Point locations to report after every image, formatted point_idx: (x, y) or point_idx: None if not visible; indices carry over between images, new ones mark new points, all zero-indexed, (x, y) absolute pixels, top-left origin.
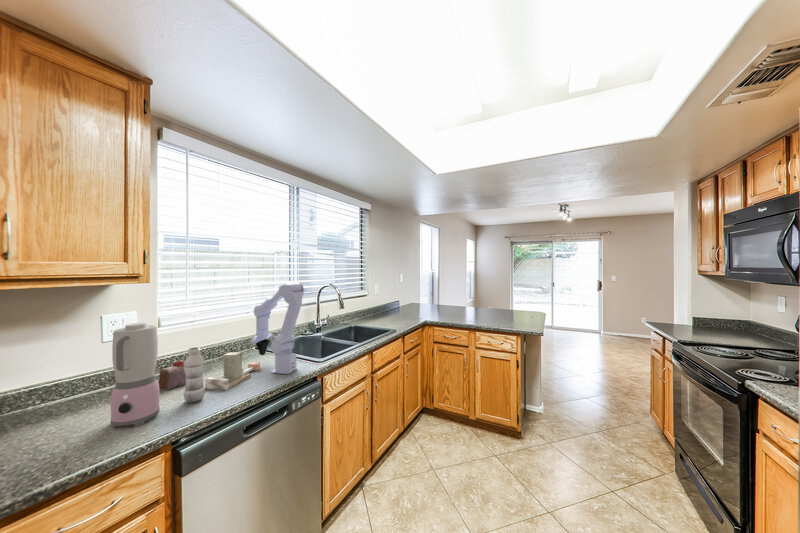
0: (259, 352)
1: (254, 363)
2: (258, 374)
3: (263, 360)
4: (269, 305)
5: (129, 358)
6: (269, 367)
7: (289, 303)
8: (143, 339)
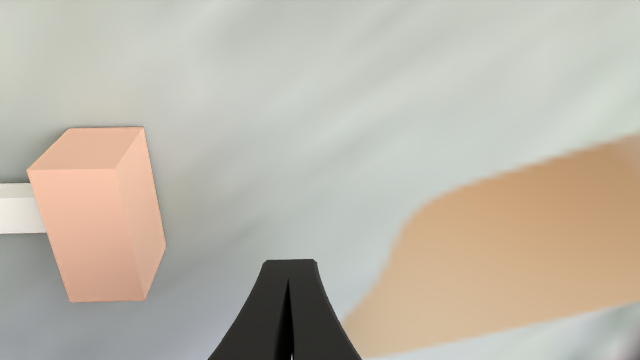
0: (254, 291)
1: (90, 245)
2: (30, 319)
3: (535, 36)
4: None
5: None
6: None
7: None
8: None
